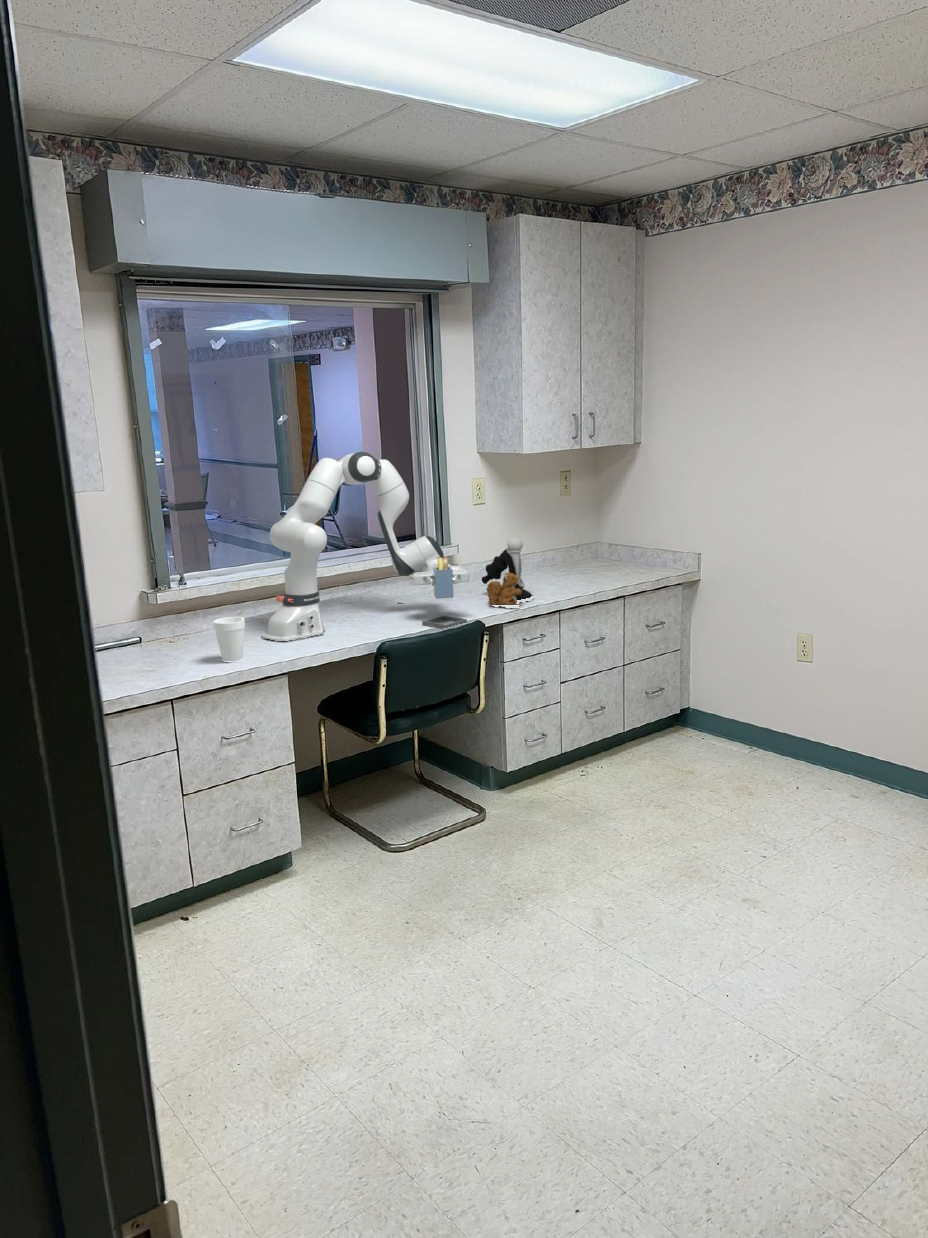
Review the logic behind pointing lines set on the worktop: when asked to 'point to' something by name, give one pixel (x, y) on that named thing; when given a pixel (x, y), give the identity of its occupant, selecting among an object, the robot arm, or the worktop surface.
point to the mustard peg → (440, 563)
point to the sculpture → (510, 560)
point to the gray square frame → (436, 625)
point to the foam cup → (230, 637)
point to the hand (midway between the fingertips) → (443, 581)
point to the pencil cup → (443, 583)
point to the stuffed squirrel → (504, 591)
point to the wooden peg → (445, 562)
